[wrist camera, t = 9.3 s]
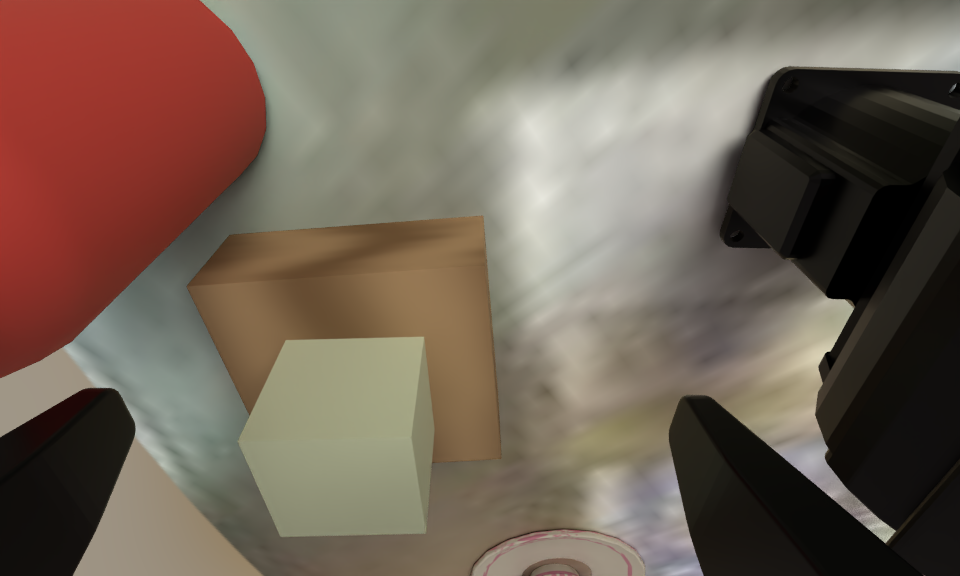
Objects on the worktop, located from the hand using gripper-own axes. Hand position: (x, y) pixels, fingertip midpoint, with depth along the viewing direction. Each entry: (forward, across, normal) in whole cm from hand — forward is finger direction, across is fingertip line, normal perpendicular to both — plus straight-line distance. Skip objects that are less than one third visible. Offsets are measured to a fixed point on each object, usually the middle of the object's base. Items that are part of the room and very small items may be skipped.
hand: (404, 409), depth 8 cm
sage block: (+8, +3, +8) cm, 12 cm away
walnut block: (+12, +3, +8) cm, 15 cm away
